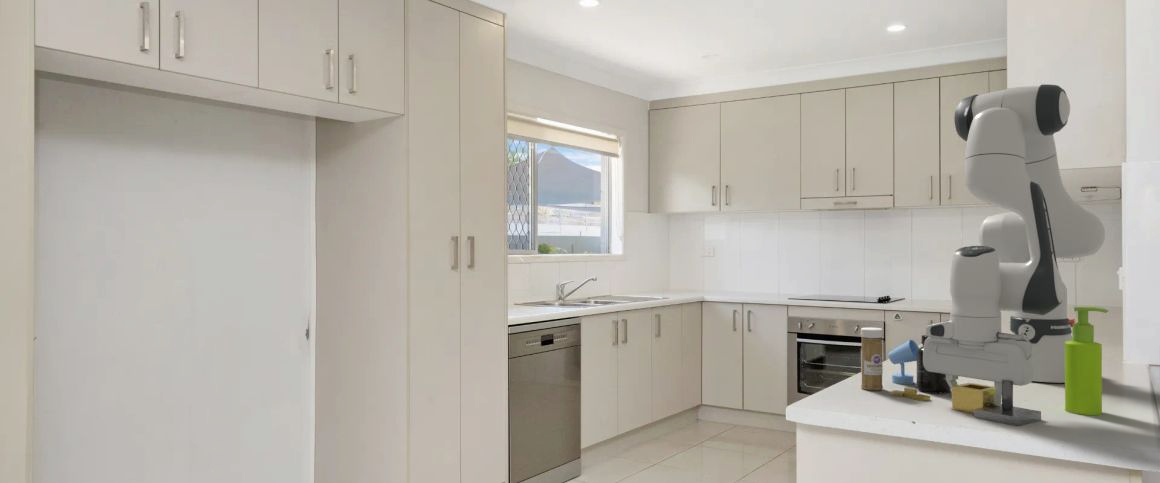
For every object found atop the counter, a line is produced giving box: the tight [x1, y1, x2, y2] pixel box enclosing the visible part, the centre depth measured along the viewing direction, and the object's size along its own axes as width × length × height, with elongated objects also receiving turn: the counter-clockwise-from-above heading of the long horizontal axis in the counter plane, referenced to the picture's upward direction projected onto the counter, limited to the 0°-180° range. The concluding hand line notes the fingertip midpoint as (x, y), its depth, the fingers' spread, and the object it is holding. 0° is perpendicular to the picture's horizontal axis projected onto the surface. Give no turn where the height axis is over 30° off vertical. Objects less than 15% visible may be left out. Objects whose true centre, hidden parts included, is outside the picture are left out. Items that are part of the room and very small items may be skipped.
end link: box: [951, 382, 997, 414], centre depth 149 cm, size 6×6×4 cm
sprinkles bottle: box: [860, 326, 884, 392], centre depth 169 cm, size 5×5×14 cm
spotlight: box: [888, 339, 920, 385], centre depth 176 cm, size 5×10×7 cm
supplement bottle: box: [916, 334, 951, 394], centre depth 167 cm, size 7×7×12 cm
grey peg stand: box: [973, 380, 1042, 427], centre depth 142 cm, size 8×8×7 cm
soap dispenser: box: [1064, 306, 1109, 416], centre depth 146 cm, size 6×7×20 cm
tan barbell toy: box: [890, 387, 931, 402], centre depth 160 cm, size 2×8×2 cm, turn 33°
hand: (975, 401), depth 149 cm, fingers closed on end link, 6 cm apart
